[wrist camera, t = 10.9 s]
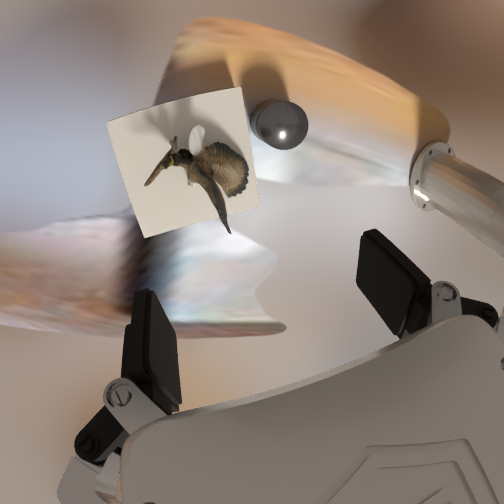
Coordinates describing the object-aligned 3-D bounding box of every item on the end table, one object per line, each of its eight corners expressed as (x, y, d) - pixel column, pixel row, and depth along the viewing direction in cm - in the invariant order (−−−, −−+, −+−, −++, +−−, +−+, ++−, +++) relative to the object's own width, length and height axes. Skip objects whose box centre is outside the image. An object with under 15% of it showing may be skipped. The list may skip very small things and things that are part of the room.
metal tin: (290, 97, 27) (305, 99, 23) (295, 138, 30) (310, 145, 26) (246, 103, 26) (256, 105, 23) (253, 146, 29) (264, 153, 26)
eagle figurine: (141, 196, 24) (220, 240, 27) (143, 173, 18) (248, 234, 21) (181, 135, 26) (252, 178, 29) (196, 100, 19) (285, 157, 23)
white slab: (234, 87, 25) (241, 86, 22) (252, 196, 32) (260, 206, 30) (112, 119, 23) (106, 122, 21) (146, 225, 30) (144, 238, 28)
